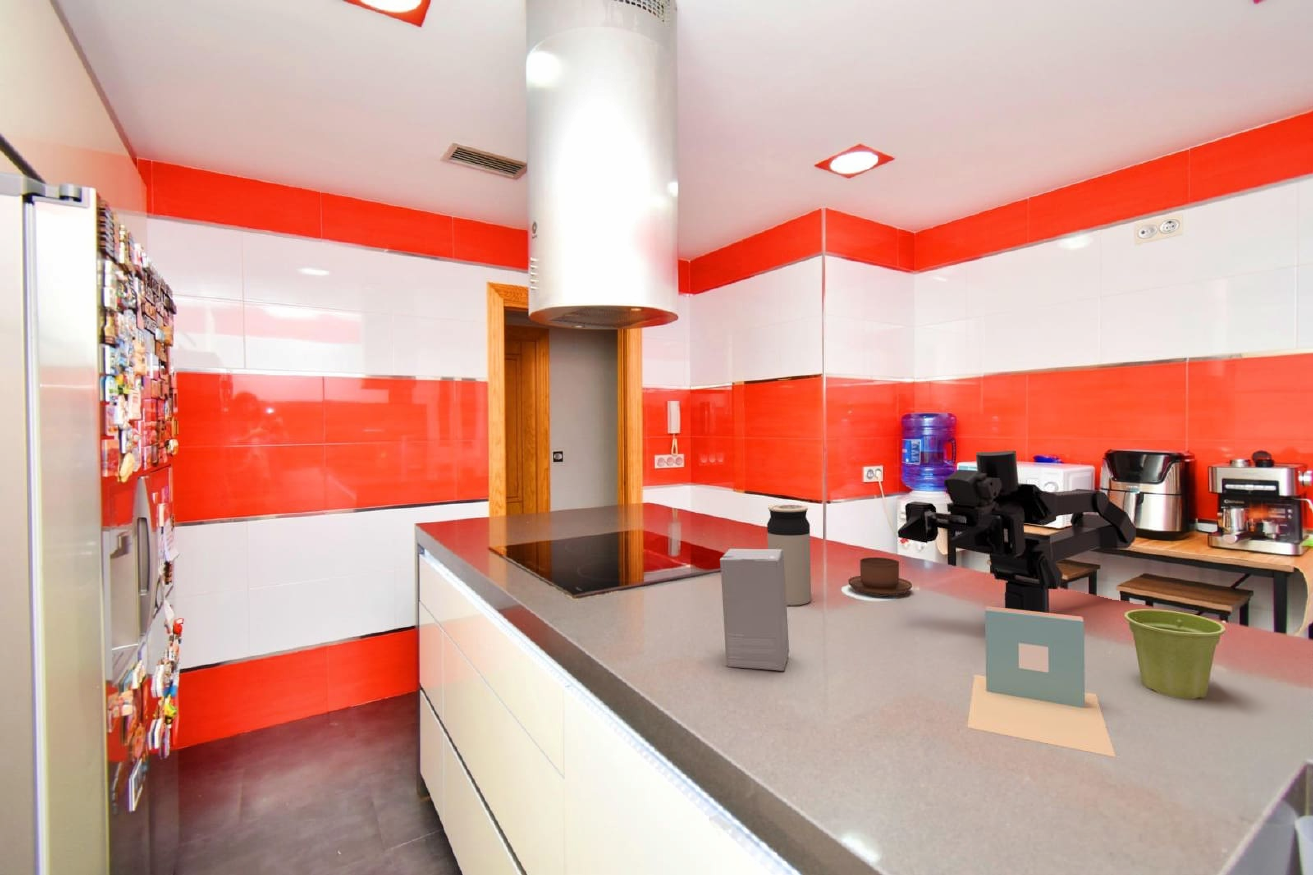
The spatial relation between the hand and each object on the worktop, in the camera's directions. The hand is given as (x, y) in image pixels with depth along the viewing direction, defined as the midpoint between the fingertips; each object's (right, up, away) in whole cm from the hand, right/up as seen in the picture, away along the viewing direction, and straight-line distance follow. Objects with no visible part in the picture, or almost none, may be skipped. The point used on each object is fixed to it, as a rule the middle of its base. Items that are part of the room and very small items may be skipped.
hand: (923, 538), depth 92 cm
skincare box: (-26, -17, -4) cm, 31 cm away
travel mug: (-14, -16, +26) cm, 34 cm away
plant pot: (+24, -16, -16) cm, 33 cm away
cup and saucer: (+5, -16, +32) cm, 36 cm away
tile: (+6, -16, -18) cm, 25 cm away
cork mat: (+4, -16, -21) cm, 27 cm away
